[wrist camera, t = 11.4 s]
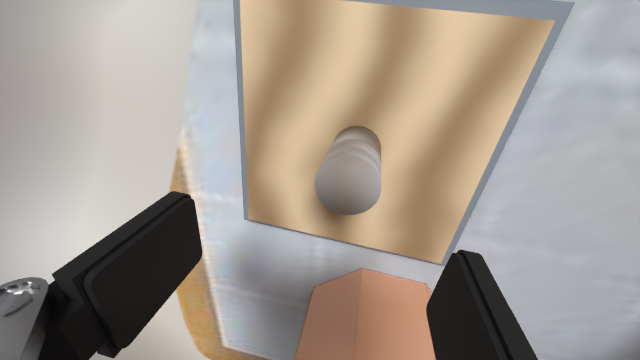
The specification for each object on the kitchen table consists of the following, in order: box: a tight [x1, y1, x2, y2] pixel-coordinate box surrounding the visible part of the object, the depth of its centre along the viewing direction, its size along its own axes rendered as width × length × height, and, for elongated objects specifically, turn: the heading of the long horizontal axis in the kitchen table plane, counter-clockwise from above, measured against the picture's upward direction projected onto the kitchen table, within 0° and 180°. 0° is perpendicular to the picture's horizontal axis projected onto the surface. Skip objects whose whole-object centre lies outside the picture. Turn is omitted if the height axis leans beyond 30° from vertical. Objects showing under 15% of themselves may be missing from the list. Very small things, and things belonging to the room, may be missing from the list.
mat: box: [233, 0, 574, 266], centre depth 20 cm, size 20×20×1 cm
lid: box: [240, 0, 555, 264], centre depth 16 cm, size 18×18×7 cm
